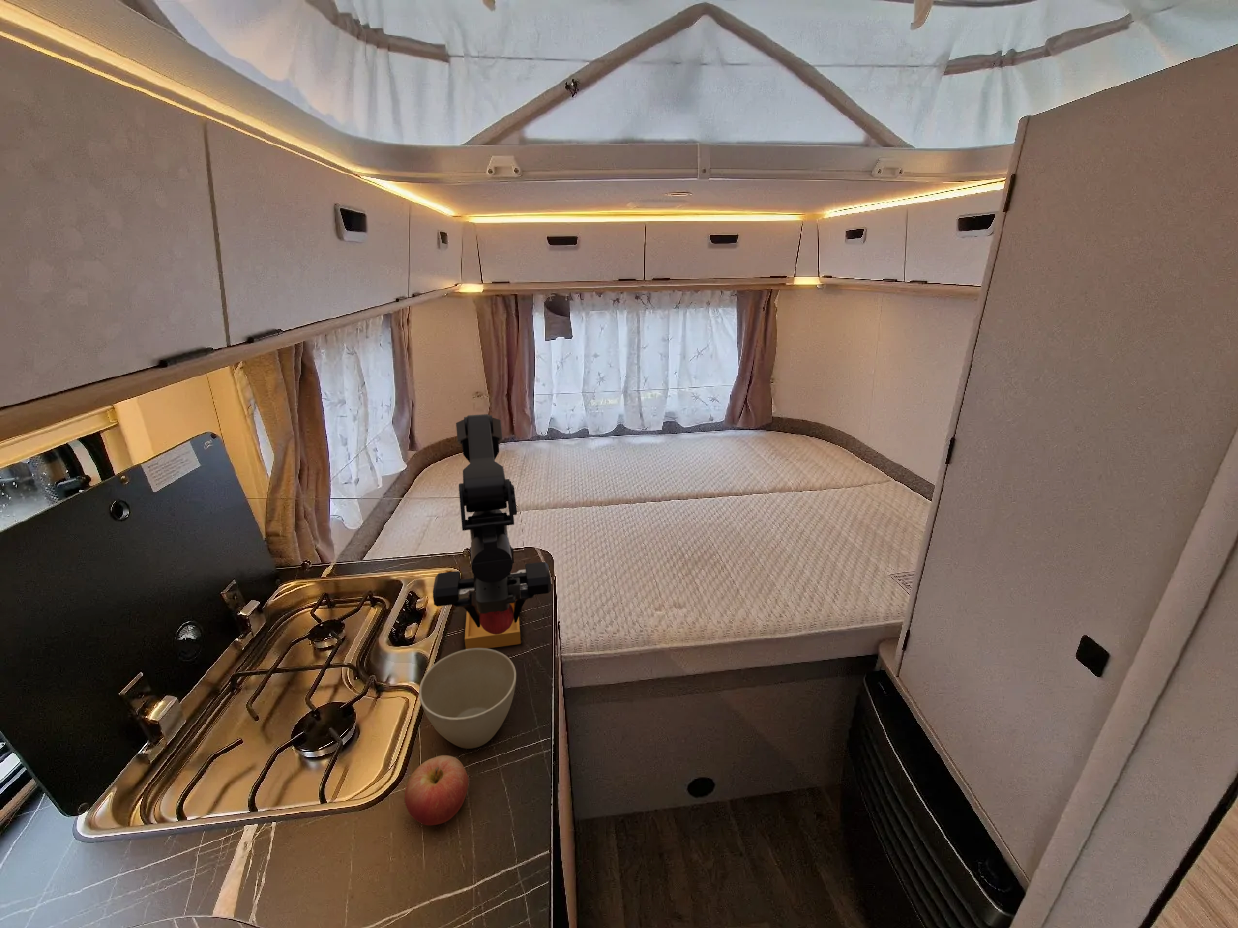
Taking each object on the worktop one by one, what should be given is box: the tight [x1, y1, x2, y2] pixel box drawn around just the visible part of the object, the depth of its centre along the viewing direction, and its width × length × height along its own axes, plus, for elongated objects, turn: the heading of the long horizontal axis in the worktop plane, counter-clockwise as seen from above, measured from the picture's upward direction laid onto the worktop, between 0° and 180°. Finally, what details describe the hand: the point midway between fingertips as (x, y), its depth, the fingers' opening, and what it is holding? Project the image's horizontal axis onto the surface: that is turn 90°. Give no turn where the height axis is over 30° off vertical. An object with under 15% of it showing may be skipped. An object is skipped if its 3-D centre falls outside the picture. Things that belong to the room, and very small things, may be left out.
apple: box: [404, 754, 470, 826], centre depth 69 cm, size 8×8×8 cm
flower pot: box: [418, 648, 517, 750], centre depth 80 cm, size 14×14×10 cm
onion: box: [479, 604, 514, 635], centre depth 89 cm, size 6×6×8 cm
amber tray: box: [464, 603, 522, 649], centre depth 103 cm, size 10×10×3 cm
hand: (497, 623), depth 89 cm, fingers closed on onion, 6 cm apart
